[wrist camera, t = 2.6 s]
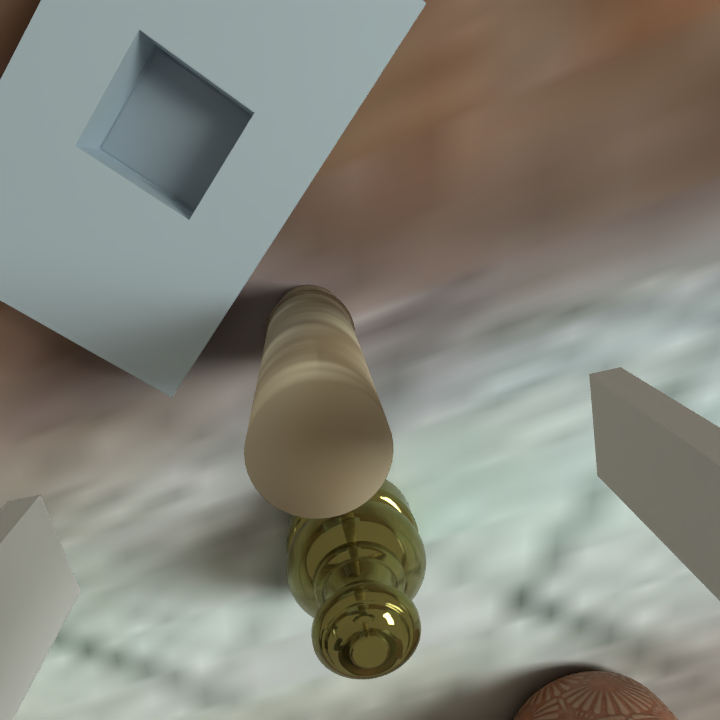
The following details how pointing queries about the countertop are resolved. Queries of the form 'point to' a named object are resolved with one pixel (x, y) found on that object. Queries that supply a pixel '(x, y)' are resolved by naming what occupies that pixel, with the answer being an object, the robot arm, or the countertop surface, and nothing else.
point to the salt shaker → (360, 584)
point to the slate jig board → (169, 157)
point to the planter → (594, 699)
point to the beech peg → (315, 412)
